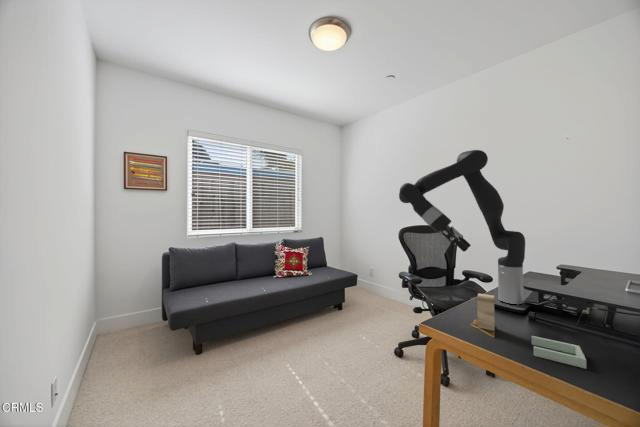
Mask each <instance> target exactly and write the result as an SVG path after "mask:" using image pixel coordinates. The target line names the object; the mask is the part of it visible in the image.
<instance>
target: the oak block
mask: <svg viewBox="0 0 640 427" xmlns="http://www.w3.org/2000/svg"><path fill="white" fill-rule="evenodd" d="M476 297H477V298H476V300H477V302H476V305H477V309H476V311H477V315H476V316H477V320H478V327H479V328H483V329H488V330H493V331H494V326H495V327H496V325H495V323H496V322H495V295H493V294H492V295H491V294H484V293H477V296H476Z"/></svg>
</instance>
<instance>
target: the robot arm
mask: <svg viewBox="0 0 640 427" xmlns="http://www.w3.org/2000/svg"><path fill="white" fill-rule="evenodd" d="M456 158H457V159H456V162H455V163H453V164H451V165H448V166H446V167H445V166H444V167H443V168H440V169H437V170H434V171H432V172H430V173H428V174H426V175H424V176H422V177H420V178H419V179H418V180H417V181H416V182H415V183H414V184H413V183H411V182H407V183H406V182H405V183H403V184H402V185H400V189H399V194H398V197H399V198H398V199H399V201H400V202H401V203H403V204H410V205H411V207H412V209H413V211H414V212H415V213H416V215H418V216H419V217H420V218H422V220H423V221H424V222H425V223H426V224H427V225H428V226H429V227H430V228H431V229H432V230H433V231H434V232H435V233H437V234H439V233H441V234H442V235H443V236H444V237H445V239H447V240H448V241H449V242H450V243H451V244H452V245H456V247H458V248H459V249H460V250H461V251H462V252H466V251H467V250H468V249H469V247H471V243H469V242H468V241H467V240H466V239H465V238H464V235H463V234H461V233H460V232H459V230H457V229H456V228H455V227H454V226H450V224H451V223H452V220H451V219H450V218H449V217H448V216H447V215H445V213H443V212H442V211H441V210H440V209H439V208H437V207H436V206H435V205H434V204H432V203H431V202H430V201H429V200H428V199H426V196H425V195H426V193H429V192H431V191H433V190H435V189H436V188H439V187H441V186H443V185H445V184H447V183H449V182H451V181H454V180H455V179H458V178H460V177H463V178H464V179H465V181H466V183H467V185H468V186H469V189H470V191H471V193H472V195H473V197H474V200H475V202H476V204H477V206H478V208H479V210H480V213H481V214H482V216H483V218H484V220H485V223H486V225H487V227H488V230H489V234H490V237H491V239H492V242H493V245H494V246H495V247H496V248H497V249H499V250H501V251H502V250H503V251H507V254H506V256H501V257H499V258H497V282H498V284H497V289H498V297H497V298H498V299H499V300H500V301H503V302H506V303H511V304H521V303H523V304H524V266H523V265H524V262H525V257H526V254H525V253H526V237H525V235H524V234H523V233H522V232H520V231H515V230H506V229H505V227H504V225H503V222H502V217H503V212H504V207H505V206H504V202H503V199H502V197H501V195H500V193H499V192H498V190H497V189H496V188H495V187H494V186H493V184H491V183H490V181H488V180H487V179H486V178H485V177H484V175H483V174H482V172H481V170H482V169H483V168H485V166H486V165H487V164H488V159H489V158H488V155H487V153H486V152H485V151H483V150H480V149H472V150H467V151H463V152H461V153H459V155H458V156H457V157H456ZM499 300H498V301H499ZM500 301H499V302H500Z"/></svg>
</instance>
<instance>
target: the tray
mask: <svg viewBox="0 0 640 427" xmlns="http://www.w3.org/2000/svg"><path fill="white" fill-rule="evenodd" d="M531 345H532V346H533V356H534V357H536V358H537V357H538V358H541V359H545V360H549V361H554V362H558V363H560V364H561V363H562V364H565V365H570V366H573V367H579V368H581V369H585V370H587V359H586V357H585V354H584V352H583V351H582V349H581V346H580V345H579V344H577V345H576V344H572V343H567V342H564V341H563V342H562V341H559V340H553V339H549V338H545V337H539V336H535V335H531Z"/></svg>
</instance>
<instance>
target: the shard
mask: <svg viewBox="0 0 640 427" xmlns="http://www.w3.org/2000/svg"><path fill="white" fill-rule="evenodd" d="M470 326H471V327H473V328H475V329H477V330H479V331H480V332H481V333H484V334H486V335H488V336H490V337H491V338H494V339H495V334H496V333H495V332H496V325H495V326H494V331H493V330H488V329H483V328H479V327H478V319H474V320H473V322H472V323H470Z"/></svg>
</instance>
